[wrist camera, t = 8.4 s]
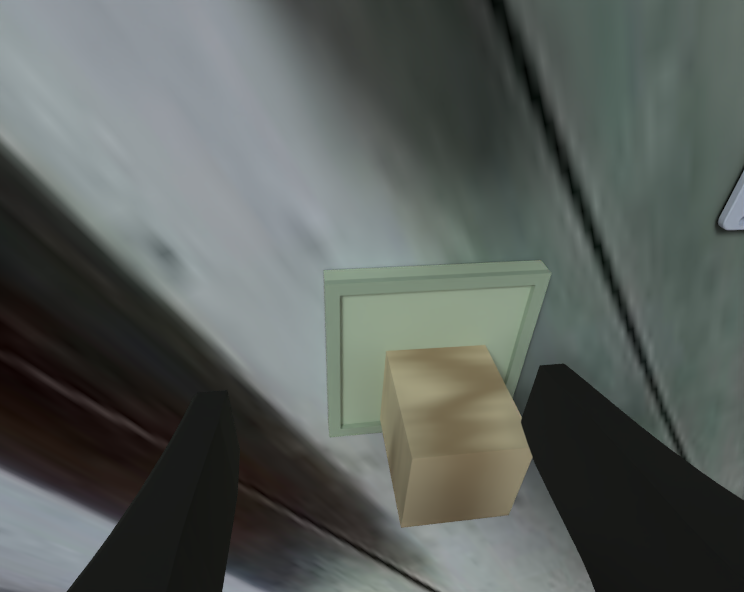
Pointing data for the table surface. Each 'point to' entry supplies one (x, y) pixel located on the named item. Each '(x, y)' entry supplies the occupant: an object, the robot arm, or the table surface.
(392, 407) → the maple block
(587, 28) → the table surface
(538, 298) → the tray
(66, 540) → the table surface
